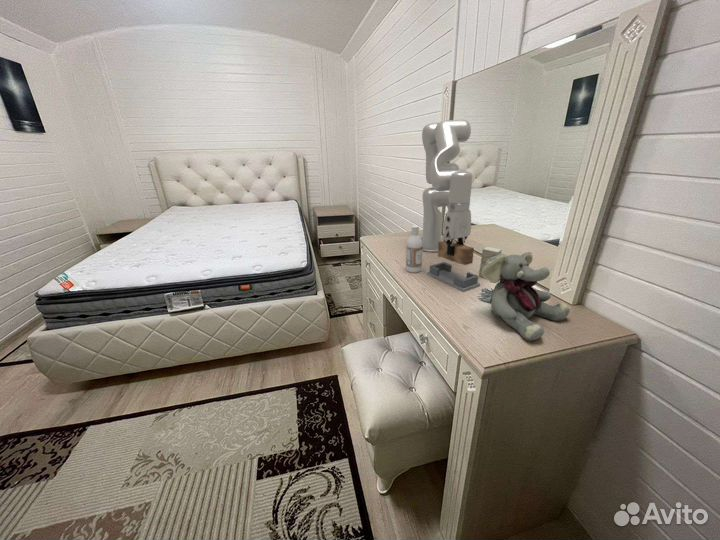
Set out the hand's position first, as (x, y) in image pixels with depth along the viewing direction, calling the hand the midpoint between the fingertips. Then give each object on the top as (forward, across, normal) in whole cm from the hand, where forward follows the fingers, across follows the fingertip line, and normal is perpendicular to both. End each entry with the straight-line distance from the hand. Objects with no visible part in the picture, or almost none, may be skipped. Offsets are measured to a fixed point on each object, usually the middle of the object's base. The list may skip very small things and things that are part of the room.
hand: (454, 253), depth 115 cm
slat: (+3, 0, 0) cm, 3 cm away
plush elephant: (+13, -2, -29) cm, 31 cm away
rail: (+12, 0, 0) cm, 12 cm away
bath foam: (+12, -6, +18) cm, 22 cm away
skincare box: (+12, +14, -6) cm, 19 cm away
